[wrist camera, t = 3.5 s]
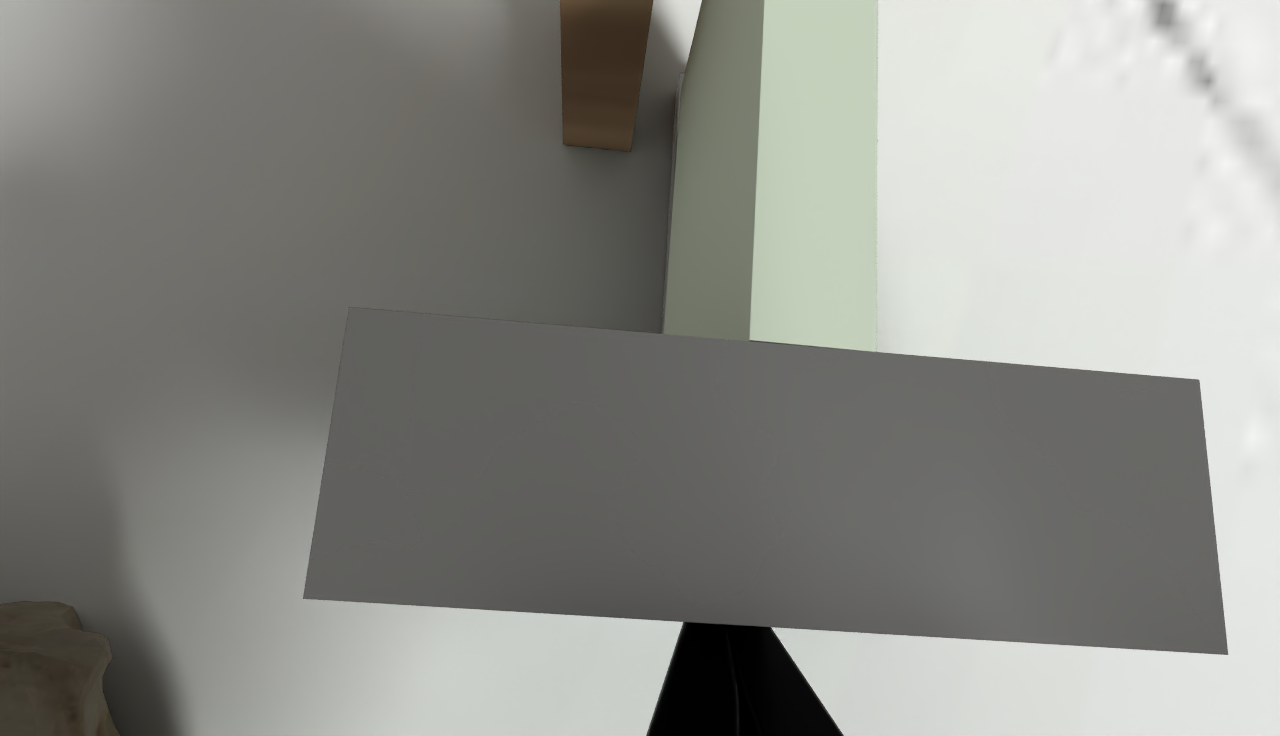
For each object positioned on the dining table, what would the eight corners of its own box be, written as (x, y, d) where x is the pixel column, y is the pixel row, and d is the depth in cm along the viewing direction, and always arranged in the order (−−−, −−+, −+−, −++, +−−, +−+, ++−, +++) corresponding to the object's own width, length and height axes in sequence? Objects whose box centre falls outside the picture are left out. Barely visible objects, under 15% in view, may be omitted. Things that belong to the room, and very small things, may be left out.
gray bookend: (845, 595, 17) (1228, 655, 7) (464, 570, 16) (303, 598, 6) (846, 110, 19) (1123, -334, 10) (520, 75, 19) (465, -432, 9)
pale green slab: (755, 460, 16) (959, 360, 7) (655, 452, 15) (749, 339, 7) (770, 100, 17) (945, -298, 9) (680, 90, 17) (778, -323, 9)
